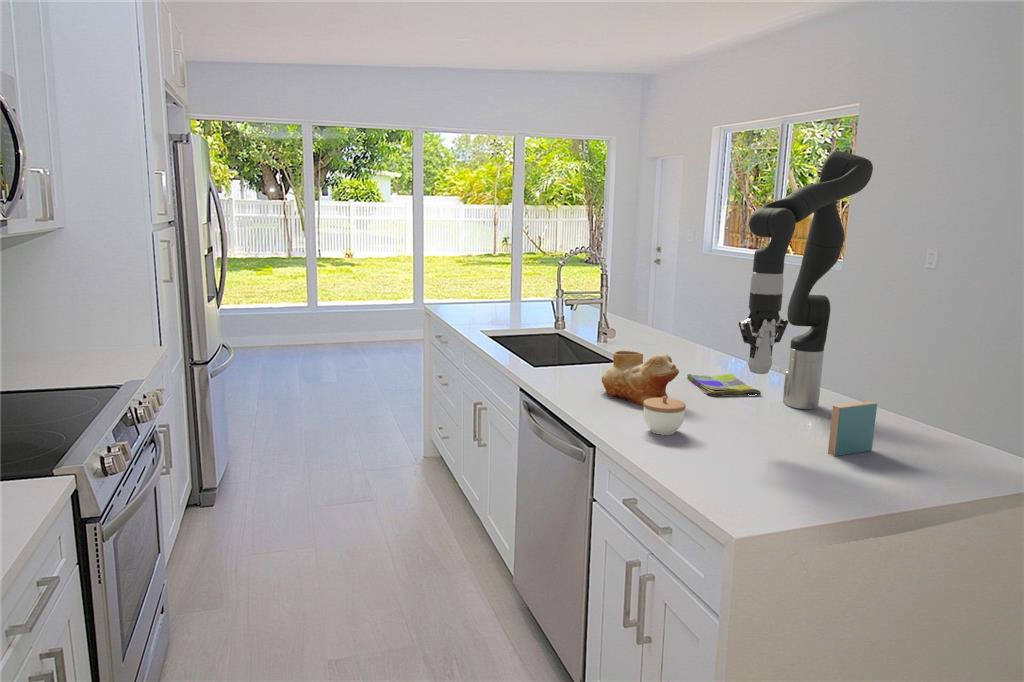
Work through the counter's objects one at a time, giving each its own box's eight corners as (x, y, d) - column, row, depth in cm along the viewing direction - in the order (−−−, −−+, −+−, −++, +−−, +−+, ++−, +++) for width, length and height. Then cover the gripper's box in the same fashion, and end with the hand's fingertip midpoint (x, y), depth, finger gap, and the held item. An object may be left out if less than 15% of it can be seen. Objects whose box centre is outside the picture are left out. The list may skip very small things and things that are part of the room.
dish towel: (734, 379, 245) (735, 372, 245) (763, 398, 221) (764, 390, 221) (684, 379, 244) (685, 371, 244) (708, 398, 220) (709, 389, 220)
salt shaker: (755, 375, 173) (759, 323, 171) (742, 369, 179) (746, 319, 176) (776, 374, 175) (781, 322, 172) (762, 368, 180) (767, 318, 178)
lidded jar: (653, 439, 179) (655, 403, 177) (635, 426, 189) (636, 392, 187) (691, 436, 182) (693, 401, 180) (671, 424, 192) (673, 390, 190)
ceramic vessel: (657, 411, 204) (660, 360, 201) (591, 392, 223) (593, 345, 220) (687, 403, 212) (690, 354, 209) (621, 386, 232) (623, 341, 229)
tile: (827, 453, 170) (832, 405, 168) (864, 448, 175) (869, 401, 173) (835, 456, 168) (840, 408, 166) (872, 450, 173) (877, 403, 171)
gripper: (778, 288, 179) (772, 355, 182) (732, 290, 174) (727, 358, 177) (800, 292, 172) (793, 361, 175) (753, 294, 167) (747, 365, 170)
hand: (760, 359), depth 176 cm, fingers closed on salt shaker, 3 cm apart
